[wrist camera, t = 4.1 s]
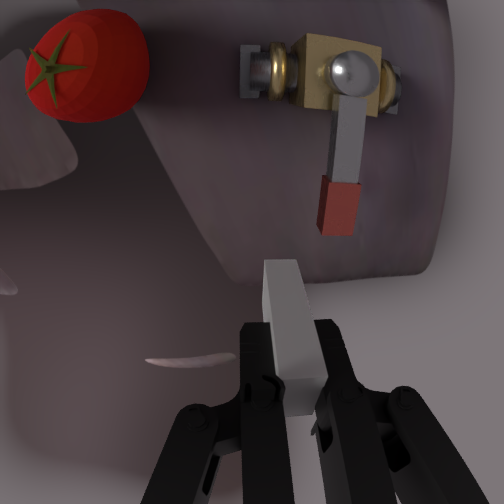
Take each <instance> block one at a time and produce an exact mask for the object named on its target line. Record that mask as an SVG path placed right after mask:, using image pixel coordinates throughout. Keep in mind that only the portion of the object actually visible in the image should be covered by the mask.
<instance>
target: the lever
mask: <svg viewBox="0 0 504 504" xmlns="http://www.w3.org/2000/svg"><path fill="white" fill-rule="evenodd" d="M324 77H325V80H326V83H327V84H328V86H329V87H330V88H331V89H332V90H333V91H334V92H336V93H338V94H340V95H338V94H333V103H332V118H331V130H330V142H329V152H328V162H327V172H326V175H322V182H321V191H320V200H319V208H318V216H317V223H316V225H317V227H318V229H319V231H320V233H321V235H339V236H352V234H353V229H354V224H355V219H356V213H357V208H358V202H359V196H360V190H361V184H360V183H359V182H358V177H359V170H360V163H361V155H362V147H363V139H364V130H365V120H366V109H367V99H364V98H358V97H365V96H368V95H370V94H372V93H373V92H374V91H375V90H376V88H377V86H378V84H379V78H380V77H379V70H378V67H377V65H376V63H375V62H374V61H373V59H372V58H371V57H369V56H368V55H367V54H365V53H363V52H360V51H355V50H351V51H346V52H343V53H340V54H337V55H334V56H332V57H331V58H330V59H329V60H328V61H327V62H326V64H325V67H324Z"/></svg>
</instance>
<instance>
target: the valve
mask: <svg viewBox="0 0 504 504" xmlns="http://www.w3.org/2000/svg"><path fill="white" fill-rule="evenodd" d="M351 50H355V51H360V52H363V53H365V54H367V55H368V56H369V57H371V58H372V59H373V61H374V62H375V63H376V65H377V67H378V70H379V77H380V78H379V84H378V86H377V88H376V90H375V91H374V92H373V93H372V94H370V95H368V96H365V97H358V98H364V99H367V109H366V115H368V116H374V117H377V115H378V113H384V112H386V113H391V114H395V115H397V112H398V102H399V99H400V96H401V90H402V85H401V79H400V73H401V67H397V66H394V65H391V64H390V62H389V61H387V60H384V59H381V47H377V46H374V45H369V44H365V43H361V42H356V41H352V40H347V39H341V38H336V37H330V36H324V35H317V34H310V33H306V34H305V35H304V36H303V37H302V38H300V39H299V40H298V41H297V42H296V43H294V44H293V45H292V46H291V54H289V53H286V48H285V44H284V43H281V42H270V44H269V50H268V52H260V45H241V48H240V98H259V91H267V97H268V101H282V99H283V96H284V92H288V93H290V97H289V104H293V105H296V106H300V107H304V108H315V109H324V110H332V103H333V94H338V93H336V92H334V91H333V90H332V89H331V88H330V87H329V86H328V84H327V83H326V80H325V77H324V67H325V64H326V62H327V61H328V60H329V59H330V58H331V57H332V56H334V55H337V54H340V53H343V52H346V51H351ZM338 95H340V94H338Z"/></svg>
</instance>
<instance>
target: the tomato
mask: <svg viewBox="0 0 504 504" xmlns="http://www.w3.org/2000/svg"><path fill="white" fill-rule="evenodd" d="M29 49H30V48H29ZM30 50H31V52H32V54H31V56H30V58H29V60H28V63H27V67H26V73H25V84H26V90H27V92H26V94H27V93H28V96H29V98H30V99H31V101H32V102H33V104H34V105H35V106H36V107H37V109H39V110H40V111H41V112H43V113H44V114H46V115H48V116H51V117H53V118H56V119H60V120H67V121H71V122H97V121H103V120H107V119H109V118H112V117H115V116H118V115H120V114H122V113H124V112H126V111H128V110H129V109H131V108H132V107H133V106H134V105H135V104H136V103H137V102H138V100H139V99H140V98H141V96H142V94H143V92H144V90H145V88H146V85H147V81H148V78H149V68H150V63H149V53H148V48H147V44H146V40H145V38H144V35H143V33H142V31H141V29H140V27H139V26H138V24H137V23H136V22H135V21H134V20H133V19H132V18H131V17H130V16H128V15H127V14H126V13H122V12H119V11H115V10H110V9H93V10H86V11H80V12H78V13H75V14H72V15H70V16H69V17H67V18H65V19H64V20H62V21H61V22H59V23H58V24H56V25H55V26H54V27H52V28H51V29H50V30H49V31H48V32H47V33H46V34H45V35H44V36H43V38H42V39H41V40H40V42H39V43H38V44H37V46H36V47H35V49H34V50H32V49H30Z"/></svg>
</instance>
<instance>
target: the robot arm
mask: <svg viewBox="0 0 504 504" xmlns="http://www.w3.org/2000/svg"><path fill="white" fill-rule="evenodd" d="M262 307H263V318H264V322H257V323H256V322H252V323H244V325H243V327H242V329H241V331H240V389H239V392H238V394H237V395H236V396H235V397H234V398H233V399H232V400H230V401H229V402H227V403H224V404H221V405H218V406H214V407H208V406H206V405H204V404H191V405H188V406H186V407H184V408H183V409H181V410H180V412H179V413H178V414H177V416H176V418H175V421H174V423H173V426H172V428H171V430H170V433H169V435H168V438H167V440H166V442H165V445H164V447H163V450H162V452H161V454H160V457H159V459H158V462H157V464H156V467H155V469H154V472H153V474H152V477H151V479H150V481H149V484H148V486H147V489H146V491H145V493H144V496H143V499H142V501H141V503H140V504H208V501H209V498H210V495H211V492H212V488H213V485H214V482H215V479H216V476H217V472H218V469H219V466H220V463H221V459H222V456H223V455H226V454H230V453H233V452H236V451H239V450H242V483H243V504H295V502H294V493H293V483H292V475H291V467H290V457H289V448H288V440H287V431H286V424H285V417H291V416H303V415H312V414H313V412H314V409H315V412H316V417H317V420H316V422H315V424H314V426H313V428H312V430H311V435H314V434H315V433H316V439H317V445H318V451H319V457H320V464H321V470H322V477H323V483H324V490H325V497H326V504H397V500H396V495H395V492H396V494H397V496H398V498H399V500H400V502H401V503H402V504H489V502H488V500H487V499H486V497H485V495H484V493H483V492H482V490H481V488H480V487H479V485H478V483H477V481H476V480H475V478H474V477H473V475H472V473H471V472H470V470H469V468H468V467H467V465H466V464H465V462H464V460H463V459H462V457H461V456H460V454H459V452H458V451H457V449H456V448H455V446H454V445H453V443H452V442H451V440H450V439H449V437H448V435H447V434H446V432H445V431H444V429H443V428H442V426H441V425H440V423H439V422H438V421H437V419H436V417H435V416H434V415H433V414H432V412H431V410H430V409H429V407H428V406H427V404H426V403H425V402H424V400H423V399H422V397H421V396H420V394H419V393H418V392H417V391H416V390H415V389H413V388H411V387H409V386H400V387H396V388H395V389H394V390H392V392H391V393H387V392H379V391H372V390H369V389H367V388H365V387H364V386H363V385H362V384H361V383H360V382H358V381H357V379H356V377H355V374H354V371H353V368H352V365H351V362H350V359H349V356H348V353H347V350H346V348H345V344H344V341H343V339H342V335H341V332H340V330H339V327H338V326H337V325H336V324H335V323H334V322H333V321H332V319H321V320H313V317H312V313H311V309H310V306H309V302H308V299H307V295H306V292H305V288H304V284H303V281H302V277H301V274H300V271H299V267H298V264H297V260H296V259H295V260H264V279H263V298H262Z"/></svg>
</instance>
